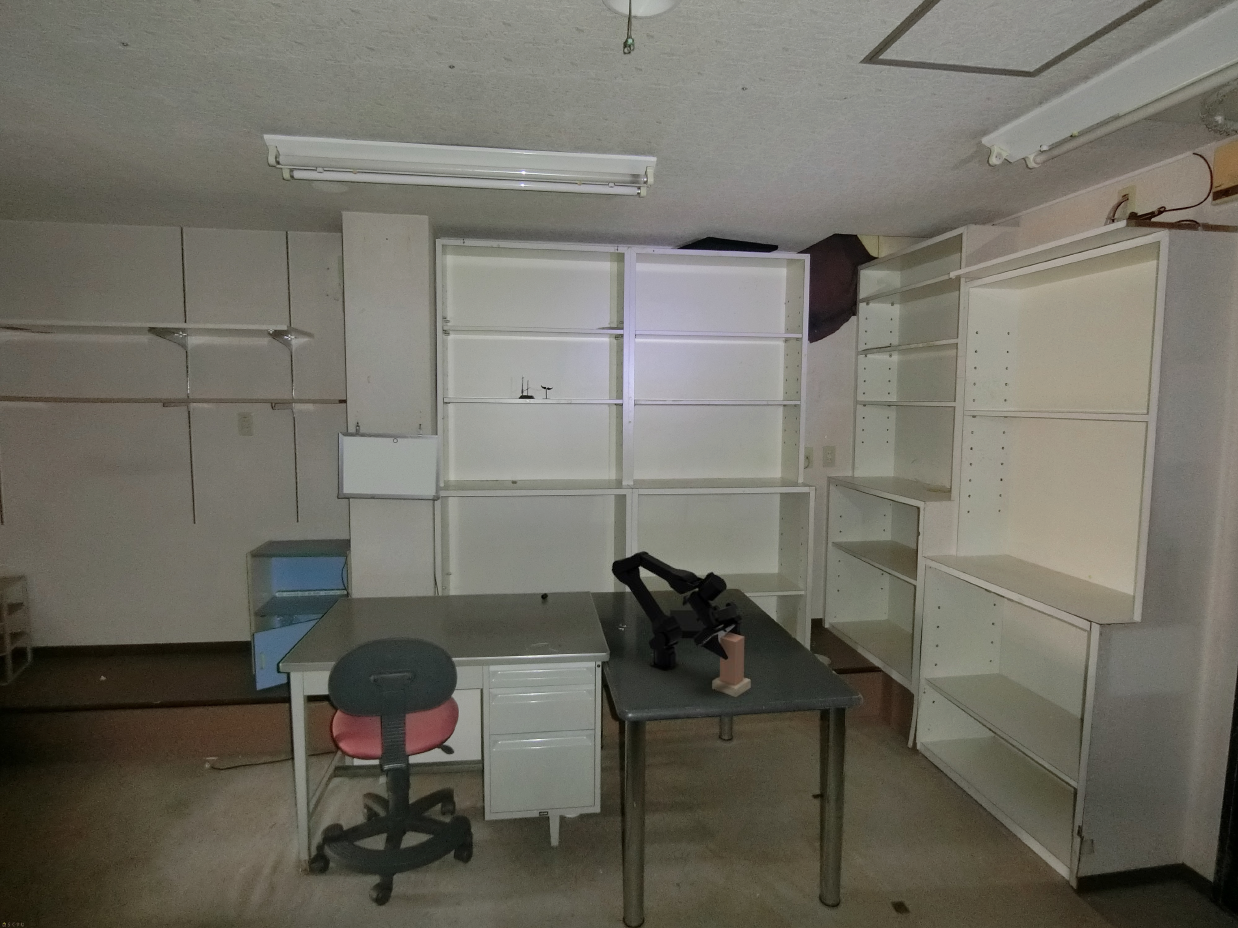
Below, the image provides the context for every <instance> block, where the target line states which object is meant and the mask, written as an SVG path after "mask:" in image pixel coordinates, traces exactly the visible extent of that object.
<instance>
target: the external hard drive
mask: <svg viewBox="0 0 1238 928" xmlns="http://www.w3.org/2000/svg"><path fill="white" fill-rule="evenodd" d="M672 615H673V616H674V617H675V618H676V620H677V622H678V623H679V624H680V625H681V626H680V628H681V630H682V637H681V639H694V636H695V635H696V634H698V633H699V632H700V631H701V630H702V629H704V628H705V626H704V625H703V623H702V622H701V621H699V622H698V621H697V620H696V619H697V618H698V616H697V615H696V613H695V612H694V610H693V609H691V610H687V609H686V610H683V609H682V610H681V609H680V610H679V609H676V610H675V609H670V610H669V617H670V616H672Z"/></svg>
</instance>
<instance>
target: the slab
mask: <svg viewBox="0 0 1238 928" xmlns="http://www.w3.org/2000/svg"><path fill="white" fill-rule="evenodd" d="M711 684H712V685H711V687H712V688H711V689H712V690H714V689H715V690H714V691H717V692H720V693H723V694H726V695H729V696H731V697H735V698H737V697H739V696H740V695H741V694H743V693H745V692H746V691H748V690H749V689H751V688H752V687H751V685H752V681H751V679H750V678H747V677H744V679H743V680H742V681H741V682H739V683H738V684H736V685H732V684H729V683H726V682H723V681H720V676H718V677H716V678H714V679H713V680H712V683H711Z"/></svg>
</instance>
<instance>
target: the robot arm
mask: <svg viewBox="0 0 1238 928" xmlns="http://www.w3.org/2000/svg"><path fill="white" fill-rule="evenodd" d="M640 567H641V568H643V569H644V570H646V571H648V572H650V573H651V574H653V575H655V576H657V577H659V578H660V579H662V580H664V581H665V582H667V584H668V586H669V587H670V588H671V589H672V590H673V591H674V592H675V593H677V594H678V595H684V594H687V595H684V596H683V599H682V606H683V607H684V606H687V605H689V606H690V608H691V610H694V612H695V613H696V615H697V616H698V618H697V619H696V620H697V621H698V622H699V621H701V622H702V623H703V625H704V626H705V628H704V629H702V630H701V631H700V632H699V633H698V634H696V635H695V636H694V638H693V642H694V644H695V645H696V646H697V647H700V649H701V648H702V649H706V650H708V651H710V652H711V653H713V654H715V655H717V656H718V657H719V658H720V657H721V658H723V659H725V660H727V659H728V656H727V654H726V652H725V650H724V649H723V647H722V646H721V644H720V642H719V639H718V634H716V633H719V632H721V631H724V632H727V633H726V634H728V633H733V634H736V635H740V636H742V633H741V626H742V624H743V622H742V621H743V620H744V619H743V618H742V616H741V614H739V613H738V610H739V607H738V606H737V604H736V603H735V602H734V601H733V600H732V601H728V602H726V603H725V606H724V607H722V608H720V607H719V605H717V604H716V605H713V603H712V602H714V601H716V600H717V598H719V597H720V596H721V595H722V594H723V593H724V592H726V590H727V589H728V586H727V583H726V580H725V579H724V578H722V577H721V576H719V575H718V574H715V572H713V571H711V572H708V573H707V574H706V575H705V577H704V578H702V577H700V576H698V575H696V573H695V572H693V571H689V570H687V569H682V568H676V567H674V566H671V565H670V564H668V563H666V562H664V561H662V560H660V559H658V558H656V557H655V556H653V555H651V554H650V553H649V552H647V551H645V550H644V551H643V550H642V551H638V552H636V553H634V554H633V555H631V556H627V557H624V558H620V559H618V560H614V561H613V563H612V565H611V572H612V575H613V576H614V578H615V579H617V580H618V581H619V582H620V583H621V584H624V585H625V586H626V587H628V589H629V590H630V593H632V595H633V597H634V598H635V600H636V601H637V603H638V604H639V606H640V607H641V609H642V610H643V612H644V614H646V617H647V618H648V619H649V621H650V622H651V627H652V628H651V629H652V634H653V637H652V639H650V640H649V641H648V644H649V648H650V649H651V650H653V662H651V663H650V665H649V666H651V667H654V668H656V669H660V670H663V671H669V670H670V669H672V668H675V667H677V666H678V665H679V663H678V662H676V659H677V655H676V647H675V646H677V645H678V644H679V642H680V640H681V639H682V638H681V637H682V630H681V628H680V626H681V625H680V624H679V623H678V622H677V620H676V618H675V617H674V616H673V615H672V616H670V615H669V616H668V615H667V614H666V613H664V611H663V610H662V608H661V607H660V605H659V603H658V602H657V601H656V599H655V598H654V596H653V595H652V592H650V590H649V589H648V587H647V586H646V584H645V583H644V581H643V580H642V578H641V571H640ZM690 592H691V593H690ZM688 593H690V594H688ZM714 634H716V635H714ZM726 634H725V635H726ZM745 650H746V646H745V644H744V651H745Z"/></svg>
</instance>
